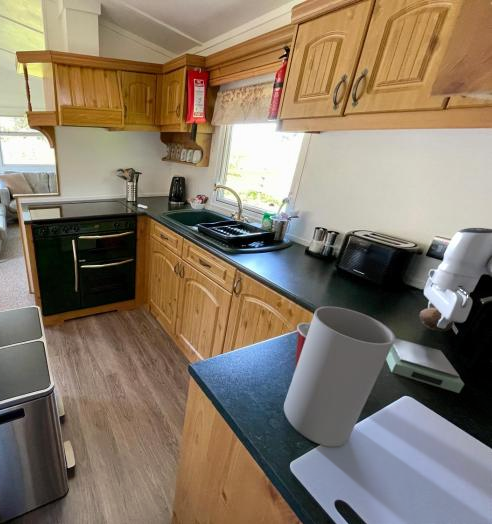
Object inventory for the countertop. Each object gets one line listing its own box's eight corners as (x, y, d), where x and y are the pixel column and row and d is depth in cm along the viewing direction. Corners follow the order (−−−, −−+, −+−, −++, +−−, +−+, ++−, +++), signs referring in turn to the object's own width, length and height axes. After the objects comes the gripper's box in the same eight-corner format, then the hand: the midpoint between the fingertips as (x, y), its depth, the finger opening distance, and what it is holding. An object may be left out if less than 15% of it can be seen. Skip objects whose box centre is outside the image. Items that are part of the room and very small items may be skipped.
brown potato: (420, 307, 97) (434, 299, 92) (447, 324, 93) (463, 317, 88) (408, 322, 95) (421, 315, 89) (434, 340, 91) (450, 333, 86)
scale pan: (439, 352, 84) (440, 350, 84) (458, 378, 74) (459, 376, 74) (388, 338, 89) (389, 336, 89) (399, 361, 79) (401, 359, 78)
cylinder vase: (331, 403, 68) (369, 311, 59) (360, 454, 56) (413, 350, 47) (276, 393, 69) (305, 302, 60) (293, 441, 58) (331, 338, 49)
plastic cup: (338, 375, 77) (353, 338, 73) (317, 390, 71) (332, 351, 67) (299, 351, 85) (310, 317, 81) (277, 363, 80) (288, 327, 75)
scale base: (437, 361, 86) (442, 352, 84) (459, 394, 74) (466, 383, 72) (379, 345, 91) (384, 336, 90) (391, 373, 79) (396, 362, 78)
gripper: (487, 297, 76) (463, 341, 81) (453, 272, 93) (435, 309, 98) (455, 291, 79) (434, 334, 84) (428, 268, 96) (412, 304, 101)
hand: (434, 320), depth 91 cm, fingers closed on brown potato, 6 cm apart
